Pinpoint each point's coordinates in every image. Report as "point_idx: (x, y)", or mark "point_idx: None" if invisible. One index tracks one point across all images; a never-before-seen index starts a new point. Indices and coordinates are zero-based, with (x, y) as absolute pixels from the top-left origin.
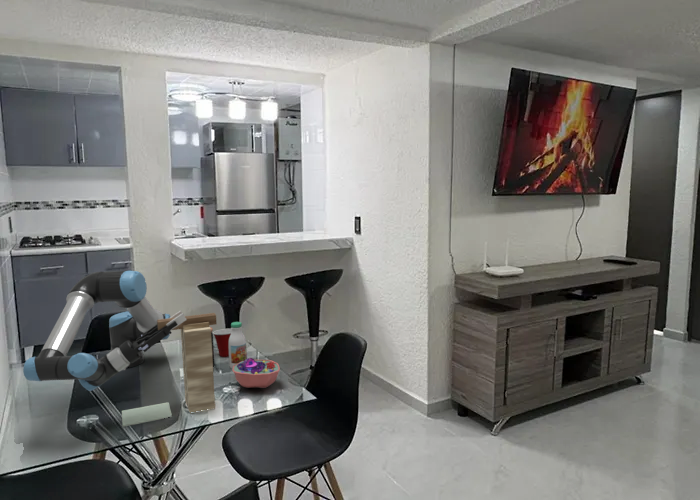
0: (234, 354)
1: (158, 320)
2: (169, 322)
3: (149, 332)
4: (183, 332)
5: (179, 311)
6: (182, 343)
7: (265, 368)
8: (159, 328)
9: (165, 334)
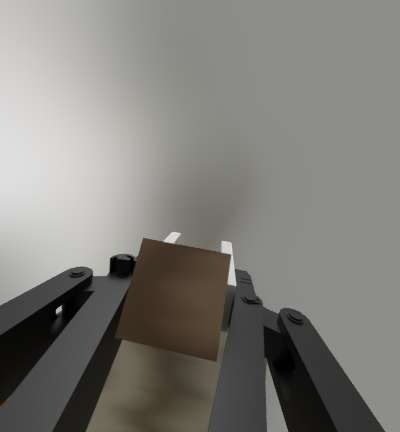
0: (4, 402)
1: (174, 245)
2: (231, 272)
3: (12, 428)
4: (220, 336)
5: (172, 233)
6: (120, 417)
7: None
8: (220, 318)
9: (293, 368)
